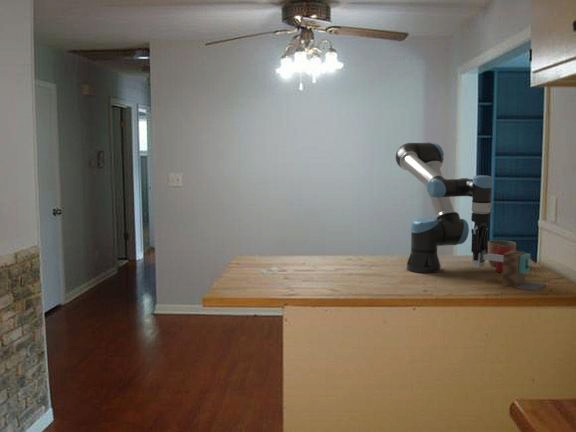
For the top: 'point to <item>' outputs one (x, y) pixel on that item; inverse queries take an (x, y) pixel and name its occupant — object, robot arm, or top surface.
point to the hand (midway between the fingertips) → (478, 266)
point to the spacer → (524, 263)
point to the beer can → (501, 251)
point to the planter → (494, 245)
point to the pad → (531, 286)
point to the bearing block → (512, 269)
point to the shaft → (494, 257)
